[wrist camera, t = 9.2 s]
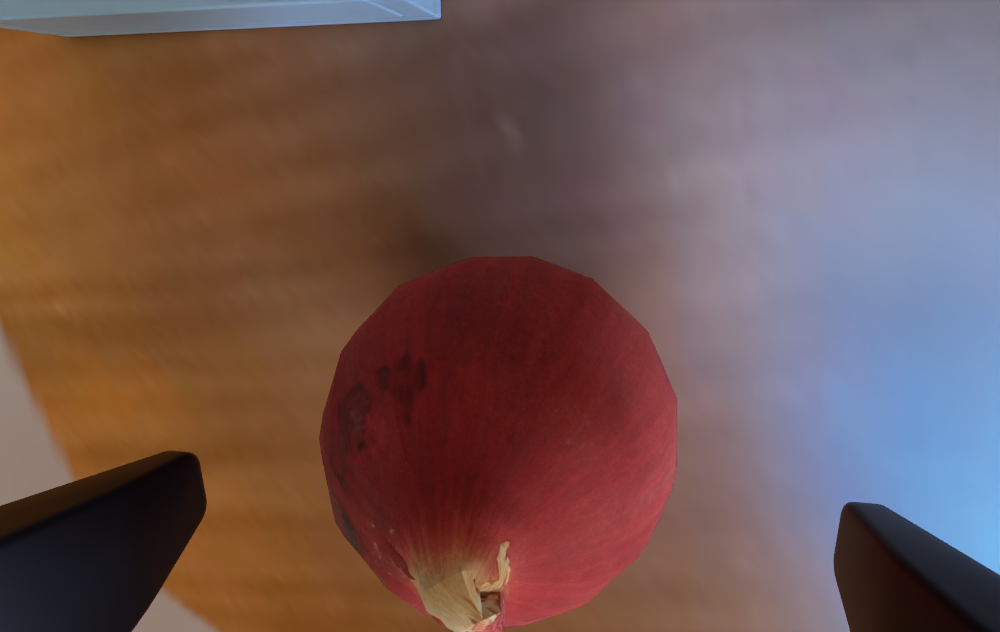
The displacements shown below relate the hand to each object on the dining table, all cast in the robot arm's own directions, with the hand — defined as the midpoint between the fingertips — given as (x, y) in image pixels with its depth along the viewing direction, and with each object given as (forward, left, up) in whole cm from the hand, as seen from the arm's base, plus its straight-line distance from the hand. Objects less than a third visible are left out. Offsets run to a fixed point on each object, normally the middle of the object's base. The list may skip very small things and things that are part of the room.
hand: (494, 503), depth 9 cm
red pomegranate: (0, 0, -6) cm, 6 cm away
